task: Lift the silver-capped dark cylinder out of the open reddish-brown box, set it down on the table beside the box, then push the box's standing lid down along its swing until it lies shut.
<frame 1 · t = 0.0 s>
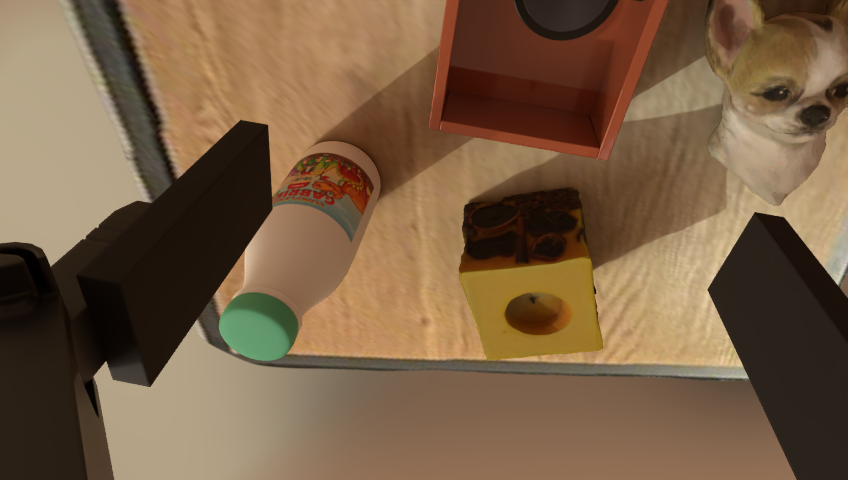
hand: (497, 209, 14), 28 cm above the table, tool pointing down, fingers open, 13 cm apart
milk bottle: (341, 176, 47), on the table
candle: (528, 238, 49), on the table
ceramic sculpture: (761, 65, 37), on the table
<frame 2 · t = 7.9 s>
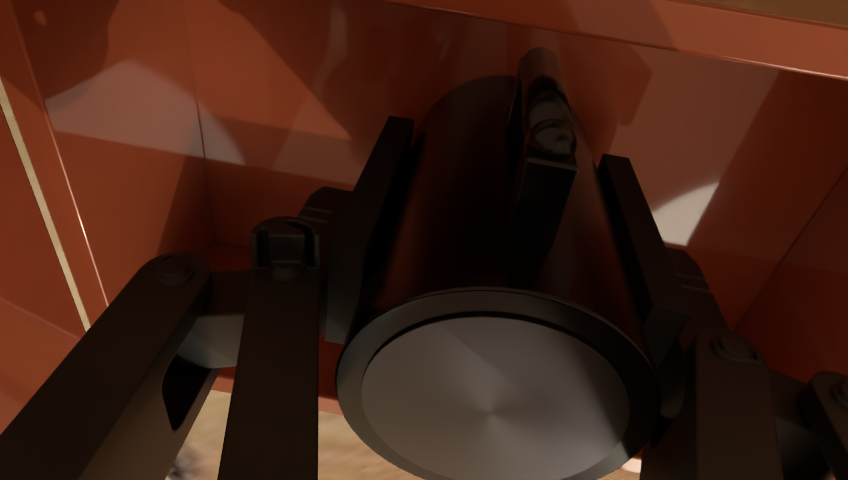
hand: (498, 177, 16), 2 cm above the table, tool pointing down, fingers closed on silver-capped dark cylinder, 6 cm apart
silver-capped dark cylinder: (498, 161, 17), point 1 cm above the table, touching gripper, reddish-brown box
reddish-brown box: (499, 150, 17), on the table
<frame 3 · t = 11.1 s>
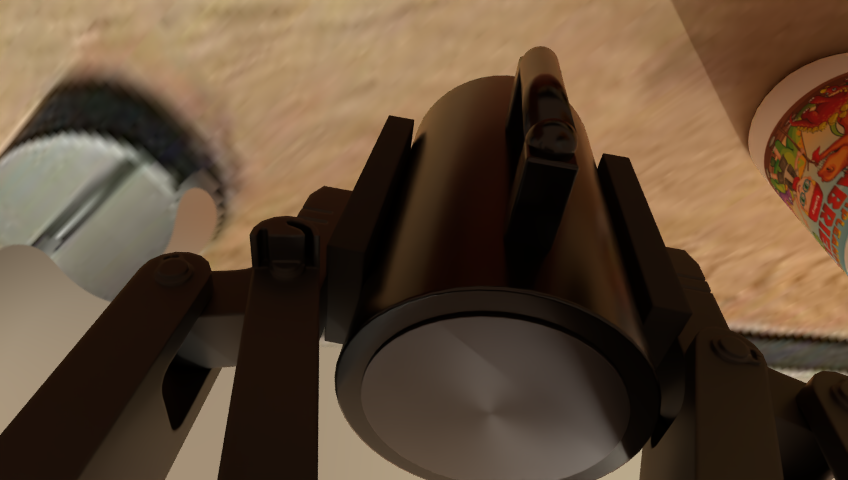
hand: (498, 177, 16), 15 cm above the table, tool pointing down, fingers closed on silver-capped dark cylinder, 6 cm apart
milk bottle: (820, 118, 29), on the table
silver-capped dark cylinder: (498, 161, 17), point 14 cm above the table, touching gripper
when the fingers open (1 cm above the table, at t = 14.6 s): silver-capped dark cylinder stays where it is, on the table.
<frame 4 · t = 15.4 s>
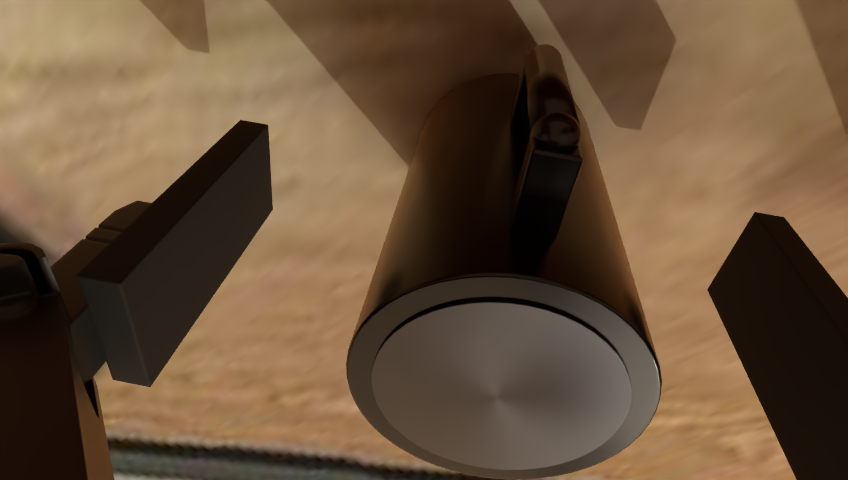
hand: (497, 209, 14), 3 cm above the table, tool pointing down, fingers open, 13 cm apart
silver-capped dark cylinder: (502, 158, 17), on the table
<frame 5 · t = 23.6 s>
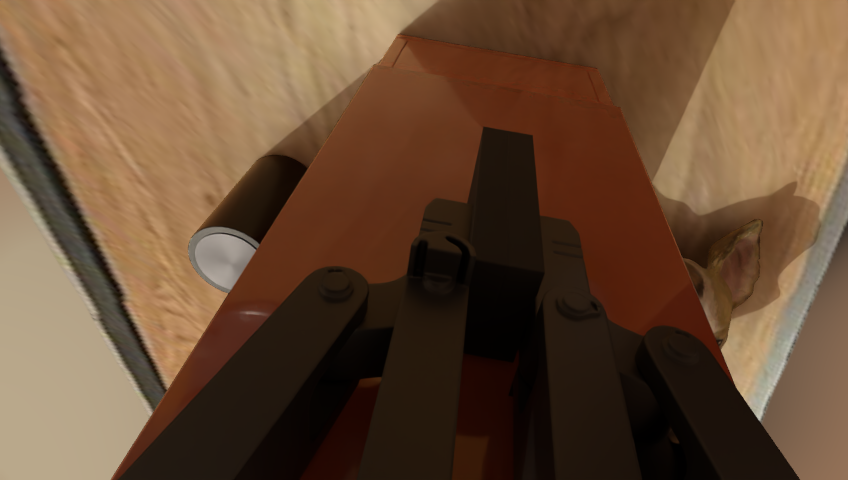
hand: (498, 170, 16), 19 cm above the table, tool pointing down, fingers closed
silver-capped dark cylinder: (283, 187, 40), on the table
reddish-brown box: (466, 197, 39), on the table
lid: (485, 216, 18), point 18 cm above the table, hinge at 88.8°, touching gripper
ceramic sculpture: (660, 282, 41), on the table
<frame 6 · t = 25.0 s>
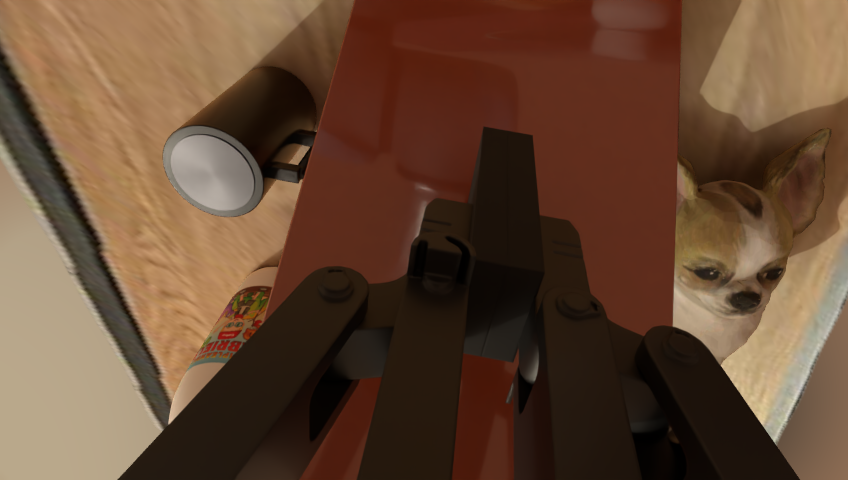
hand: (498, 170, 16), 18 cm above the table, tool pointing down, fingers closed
milk bottle: (285, 295, 46), on the table
silver-capped dark cylinder: (276, 107, 36), on the table
lid: (491, 179, 18), point 16 cm above the table, hinge at 55.1°, touching gripper
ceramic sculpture: (702, 216, 36), on the table
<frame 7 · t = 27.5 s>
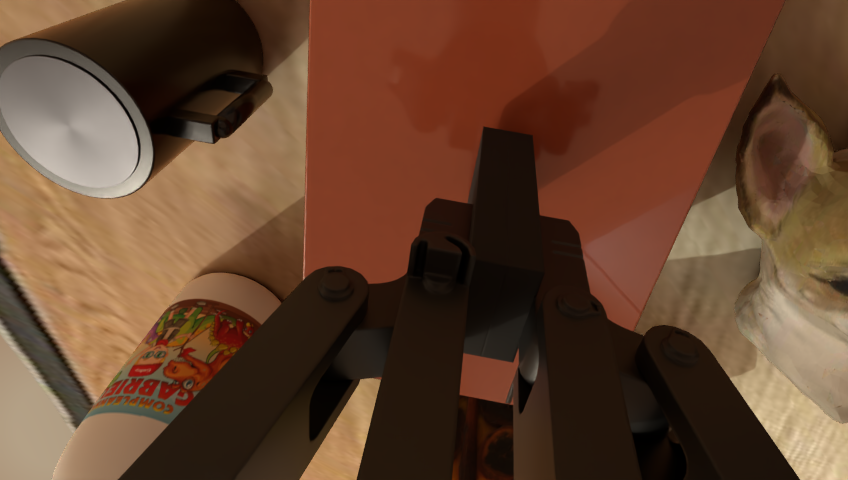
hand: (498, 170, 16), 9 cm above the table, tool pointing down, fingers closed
milk bottle: (239, 310, 36), on the table
silver-capped dark cylinder: (206, 45, 25), on the table
candle: (490, 387, 37), on the table
lid: (503, 138, 17), point 8 cm above the table, hinge at 5.8°, touching gripper
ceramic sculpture: (816, 201, 25), on the table
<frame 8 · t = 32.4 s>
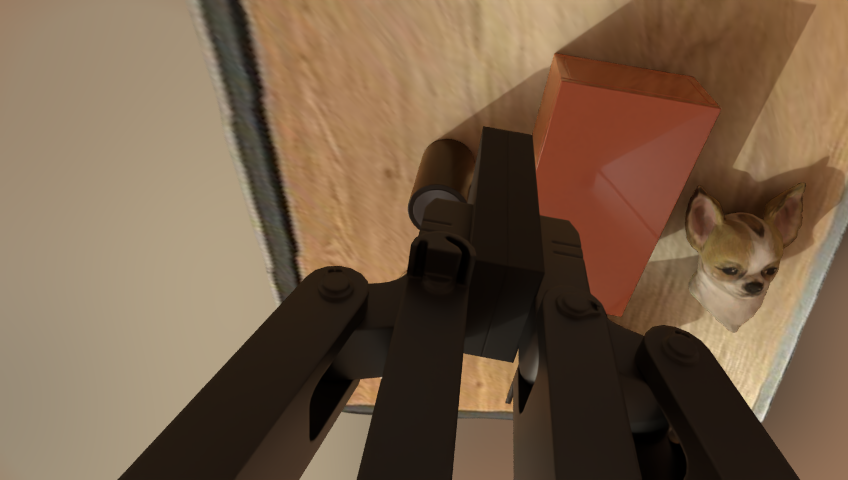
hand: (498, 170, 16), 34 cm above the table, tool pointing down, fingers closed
silver-capped dark cylinder: (448, 163, 55), on the table
reddish-brown box: (586, 169, 53), on the table
lid: (594, 212, 47), point 8 cm above the table, hinge at 1.3°
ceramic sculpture: (724, 233, 55), on the table
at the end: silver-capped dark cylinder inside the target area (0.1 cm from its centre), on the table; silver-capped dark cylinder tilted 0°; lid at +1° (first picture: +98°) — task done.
